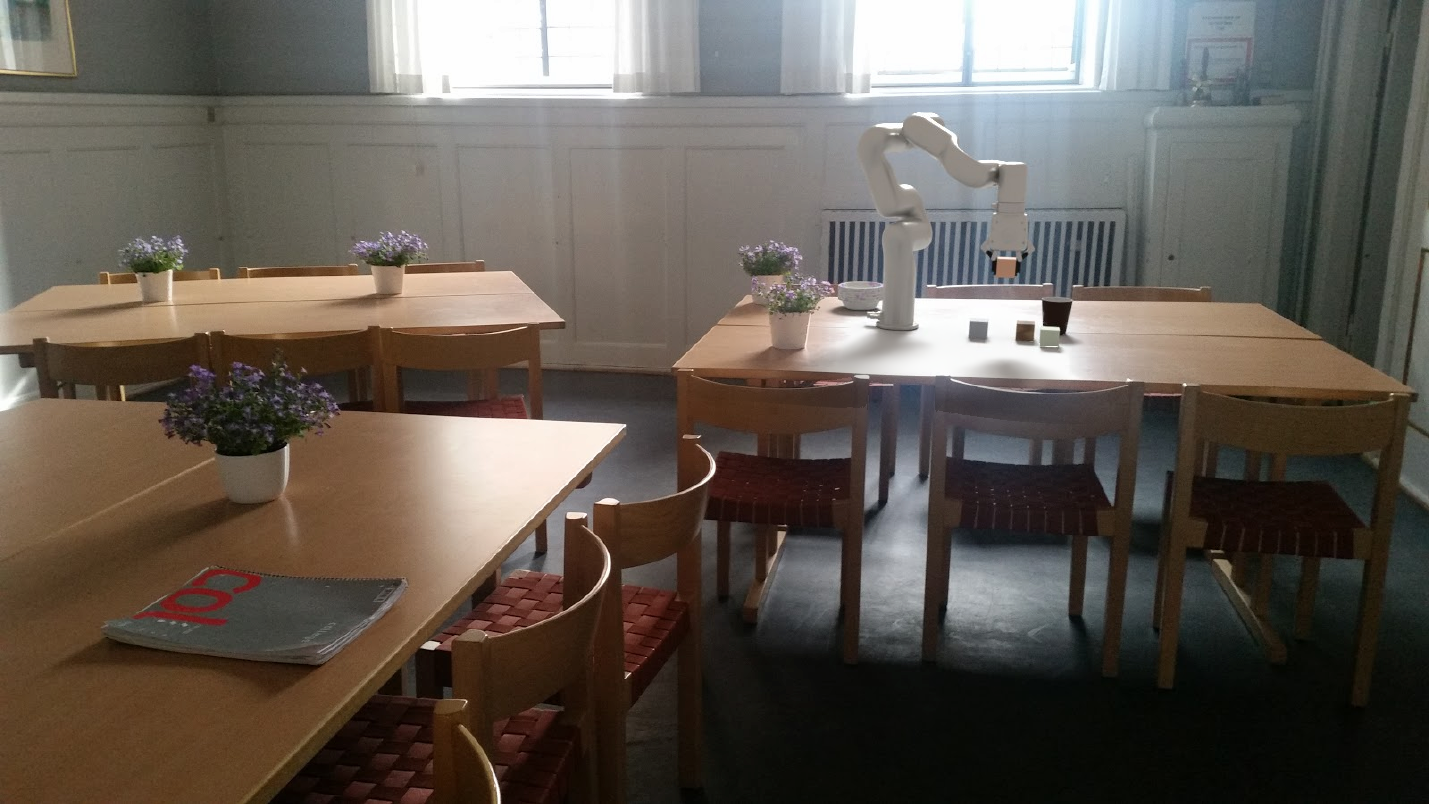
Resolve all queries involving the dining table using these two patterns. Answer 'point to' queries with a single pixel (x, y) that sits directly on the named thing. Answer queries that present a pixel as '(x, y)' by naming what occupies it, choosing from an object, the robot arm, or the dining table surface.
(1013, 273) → the terracotta cube
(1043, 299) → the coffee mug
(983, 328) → the slate cube
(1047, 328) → the sage cube
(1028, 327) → the walnut cube
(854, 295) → the white floral bowl
